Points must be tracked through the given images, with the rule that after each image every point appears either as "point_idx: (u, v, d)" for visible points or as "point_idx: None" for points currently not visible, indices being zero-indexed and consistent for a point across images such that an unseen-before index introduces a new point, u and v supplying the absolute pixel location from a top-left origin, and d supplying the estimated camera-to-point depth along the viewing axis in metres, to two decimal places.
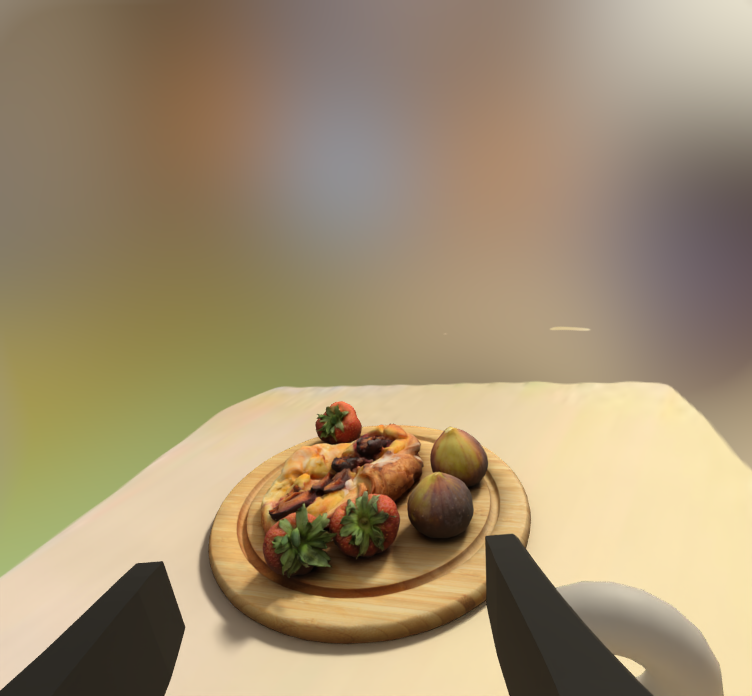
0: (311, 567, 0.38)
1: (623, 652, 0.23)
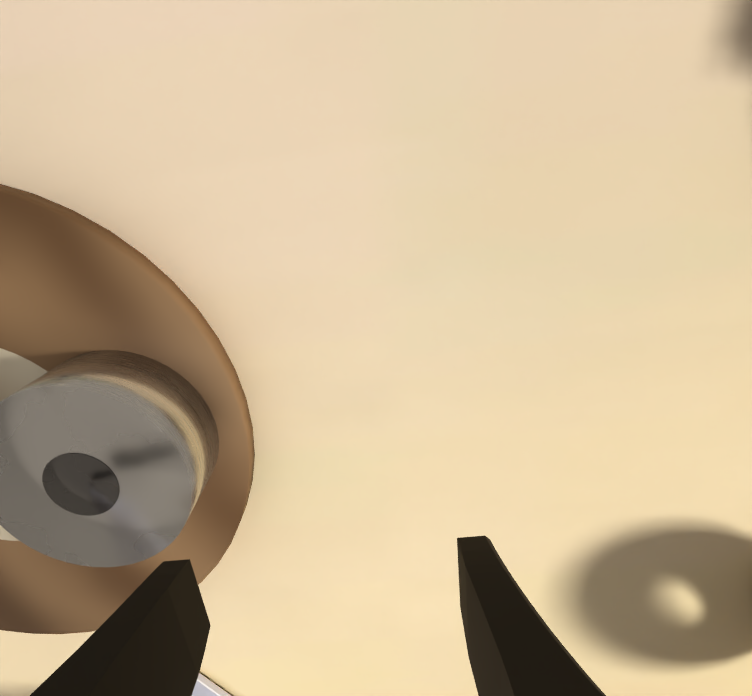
0: None
1: None
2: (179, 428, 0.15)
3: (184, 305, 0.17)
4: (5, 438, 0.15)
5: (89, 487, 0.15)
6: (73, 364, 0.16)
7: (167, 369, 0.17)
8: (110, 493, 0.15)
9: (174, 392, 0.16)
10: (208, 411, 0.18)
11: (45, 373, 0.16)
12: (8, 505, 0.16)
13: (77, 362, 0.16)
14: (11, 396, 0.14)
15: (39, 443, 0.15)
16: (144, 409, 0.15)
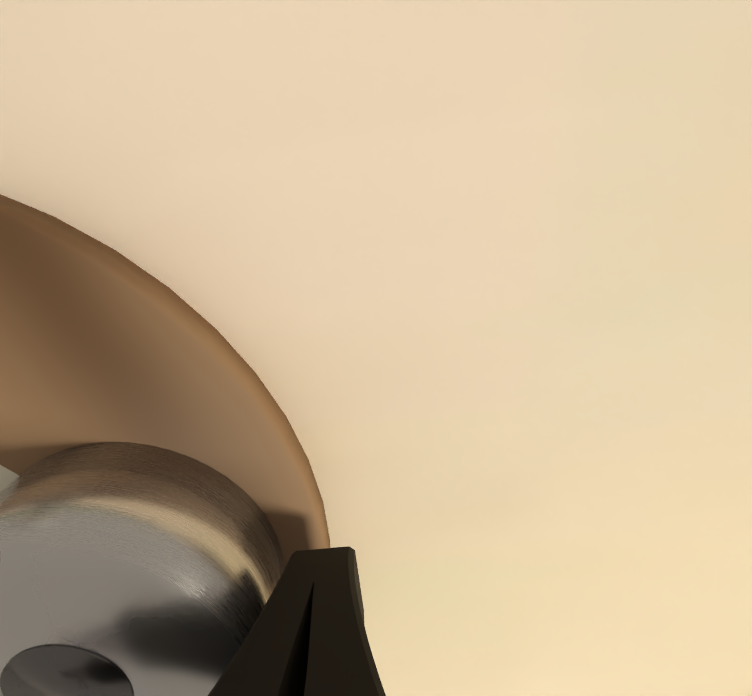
0: None
1: None
2: (237, 589, 0.09)
3: (236, 370, 0.10)
4: None
5: (81, 695, 0.09)
6: (55, 477, 0.09)
7: (208, 472, 0.10)
8: None
9: (223, 517, 0.10)
10: (271, 532, 0.11)
11: (8, 491, 0.09)
12: None
13: (62, 472, 0.09)
14: None
15: None
16: (178, 572, 0.08)
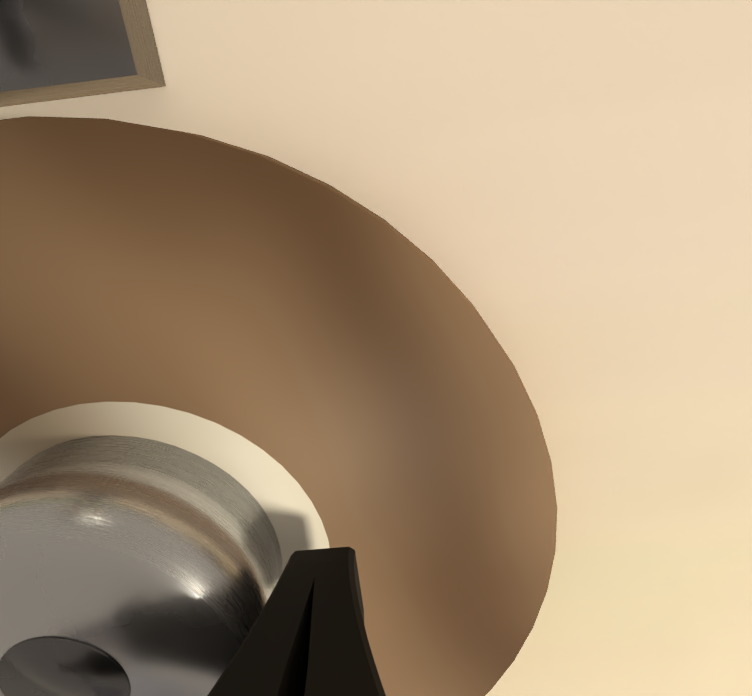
0: None
1: None
2: (239, 589, 0.09)
3: None
4: None
5: (78, 688, 0.09)
6: (60, 468, 0.09)
7: (213, 469, 0.10)
8: (114, 695, 0.09)
9: (227, 515, 0.10)
10: (272, 532, 0.11)
11: (12, 480, 0.09)
12: None
13: (67, 463, 0.09)
14: None
15: None
16: (183, 570, 0.08)
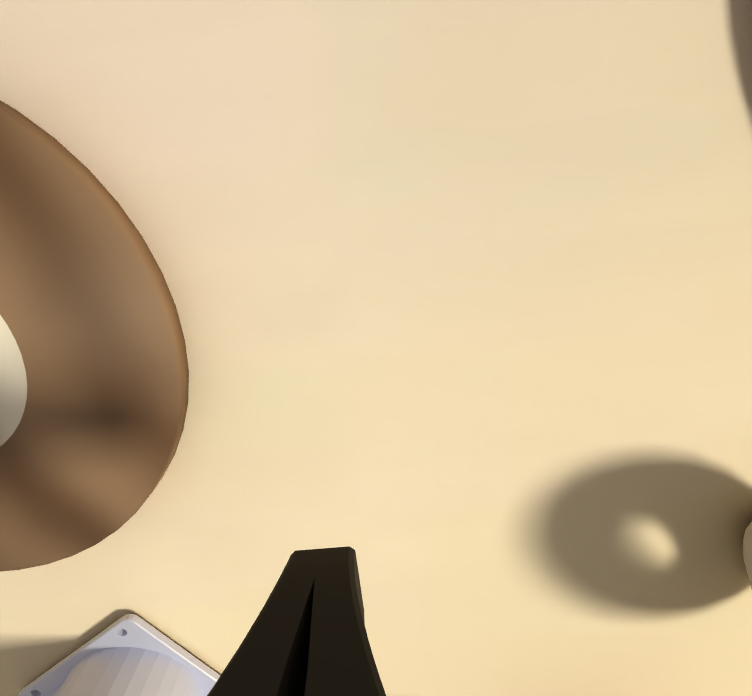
0: None
1: None
2: None
3: (99, 193, 0.15)
4: None
5: None
6: None
7: None
8: None
9: None
10: None
11: None
12: None
13: None
14: None
15: None
16: None
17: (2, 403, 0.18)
